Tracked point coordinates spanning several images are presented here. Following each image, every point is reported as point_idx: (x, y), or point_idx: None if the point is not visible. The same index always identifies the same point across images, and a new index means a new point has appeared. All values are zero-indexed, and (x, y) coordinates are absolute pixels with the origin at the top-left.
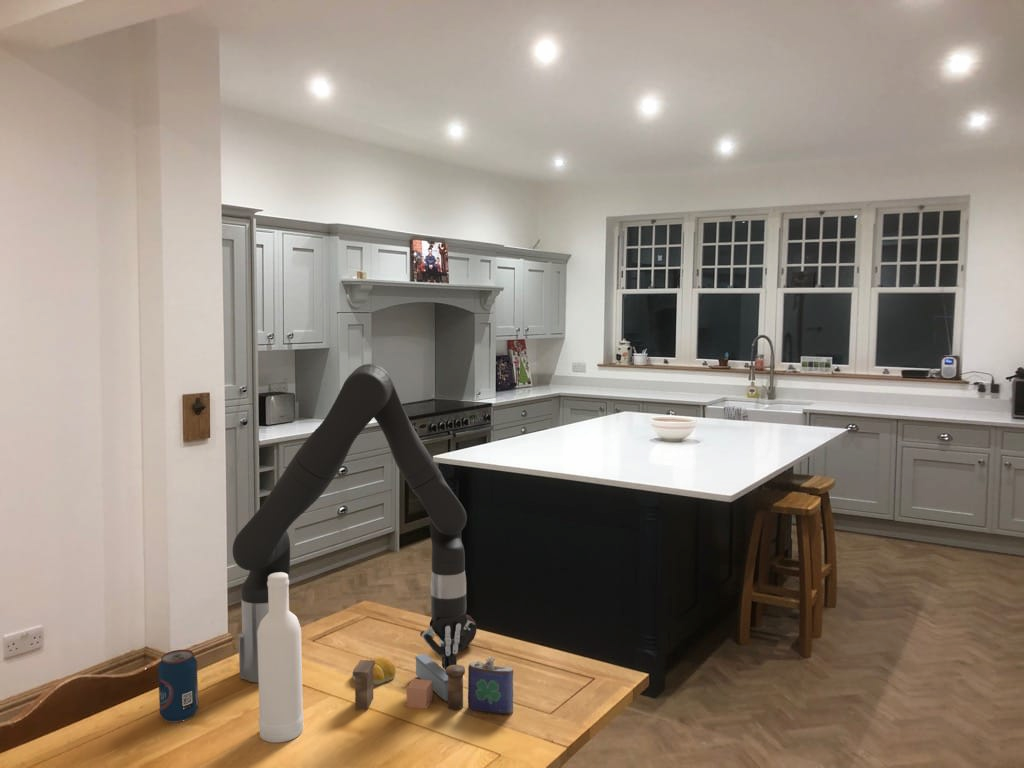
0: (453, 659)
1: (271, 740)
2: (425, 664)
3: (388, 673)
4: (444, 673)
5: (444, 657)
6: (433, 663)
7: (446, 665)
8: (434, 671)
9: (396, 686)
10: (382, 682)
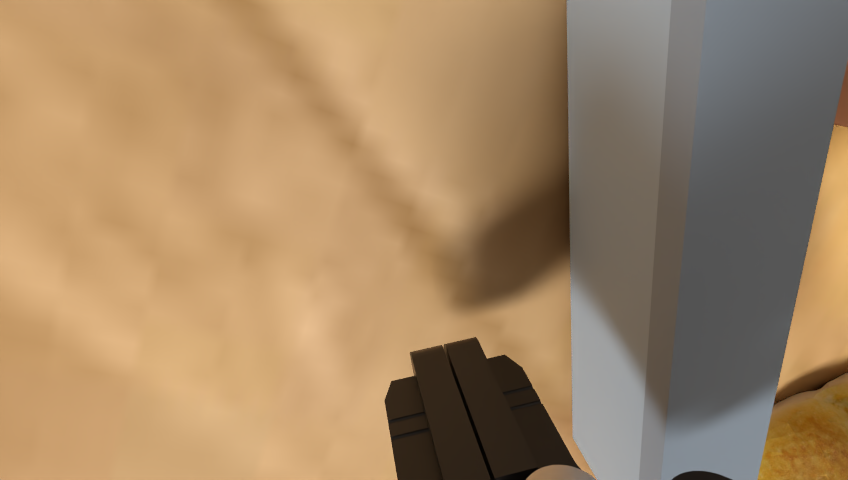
0: (448, 435)
1: None
2: (776, 387)
3: (839, 431)
4: (750, 67)
5: (573, 461)
6: (696, 390)
7: (510, 388)
8: (815, 182)
9: (798, 317)
10: (846, 377)
